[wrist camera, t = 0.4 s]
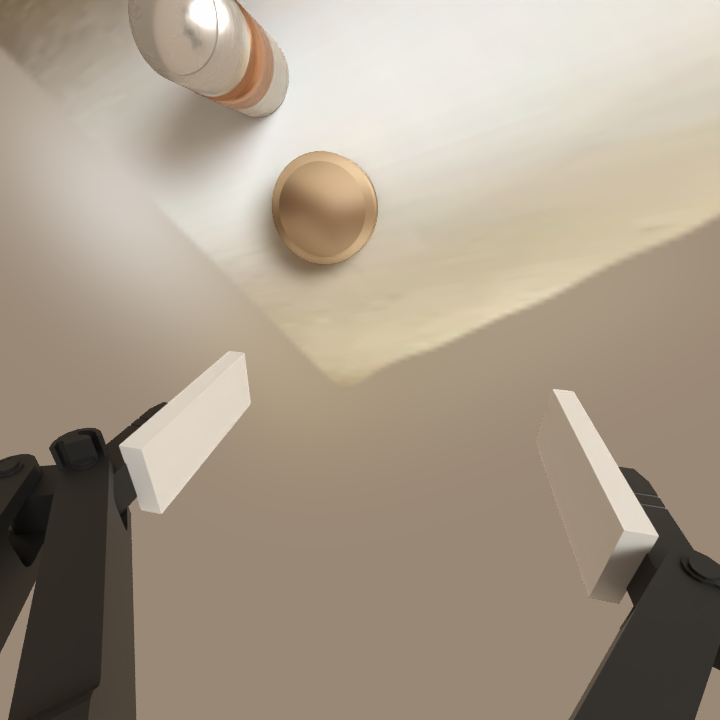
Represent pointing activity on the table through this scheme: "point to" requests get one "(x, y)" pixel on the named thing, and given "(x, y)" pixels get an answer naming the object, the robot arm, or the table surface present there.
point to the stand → (324, 207)
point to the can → (212, 51)
